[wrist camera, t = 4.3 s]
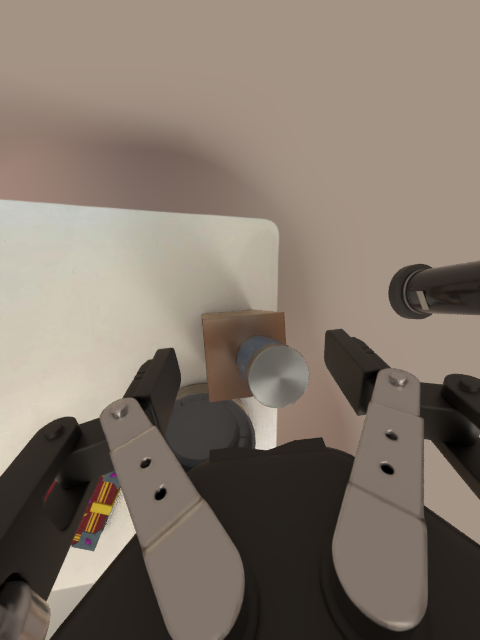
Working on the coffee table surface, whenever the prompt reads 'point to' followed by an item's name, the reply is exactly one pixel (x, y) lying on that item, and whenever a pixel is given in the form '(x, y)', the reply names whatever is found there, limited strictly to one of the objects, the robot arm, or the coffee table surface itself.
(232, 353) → the crate
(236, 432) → the silver metal bowl
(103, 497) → the decorative book
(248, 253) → the coffee table surface
